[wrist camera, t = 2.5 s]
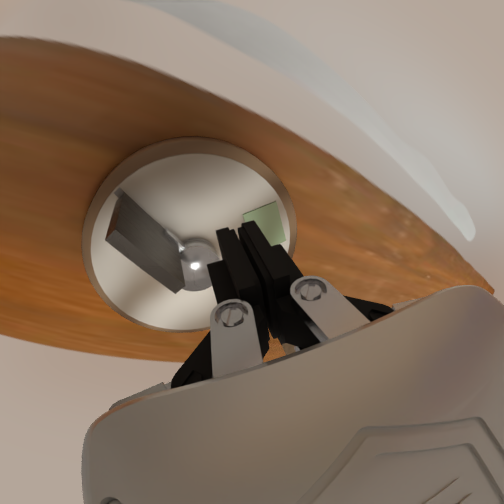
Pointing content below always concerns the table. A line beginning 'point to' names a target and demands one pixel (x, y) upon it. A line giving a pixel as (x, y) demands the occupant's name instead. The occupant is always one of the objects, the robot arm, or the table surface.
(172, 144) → the base
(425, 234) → the table surface
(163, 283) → the dial pointer
